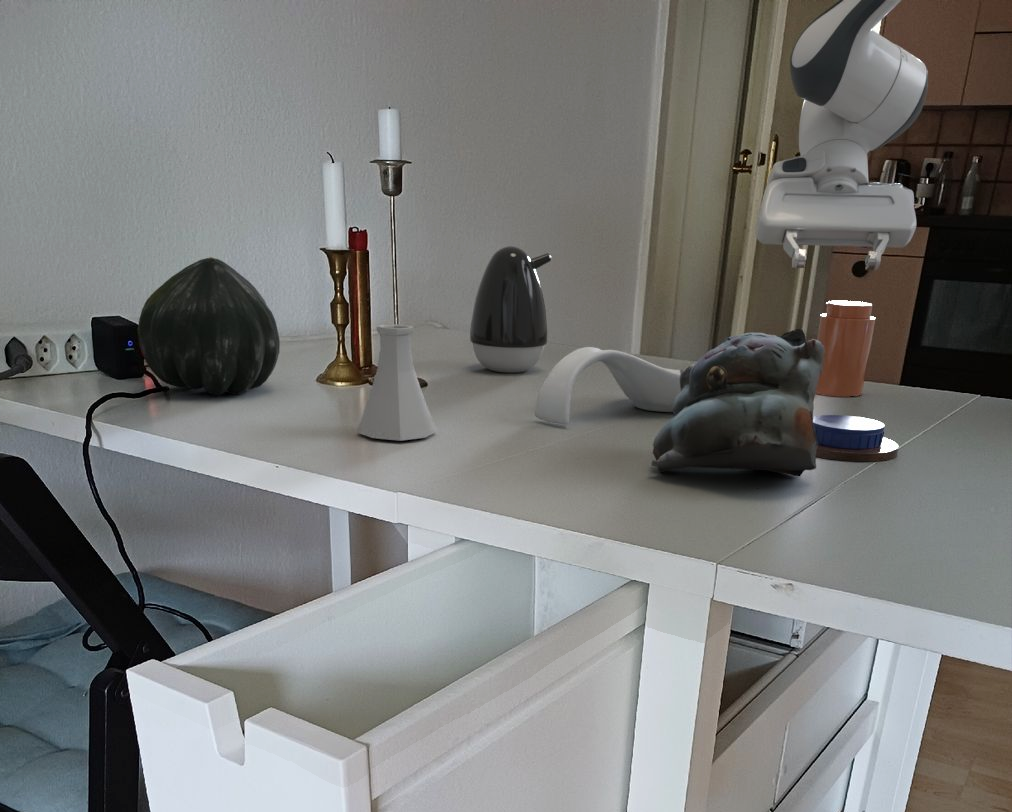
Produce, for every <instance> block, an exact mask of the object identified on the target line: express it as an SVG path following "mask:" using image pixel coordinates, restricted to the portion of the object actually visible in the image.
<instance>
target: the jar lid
mask: <svg viewBox="0 0 1012 812" xmlns="http://www.w3.org/2000/svg"><path fill="white" fill-rule="evenodd" d="M813 423H814V429H815V433H816V437H817V444H820V445H824V446H829V447H836V448H845V449H870V448H876V447H879V446H880V445H881V444H882V442H883V438H884V436H885V424H884V423H883V422H881V421H878V420H875V419H872V418H866V417H861V416H853V415H844V414H843V415H842V414H824V415H823V414H822V415H816V416H813Z"/></svg>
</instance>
